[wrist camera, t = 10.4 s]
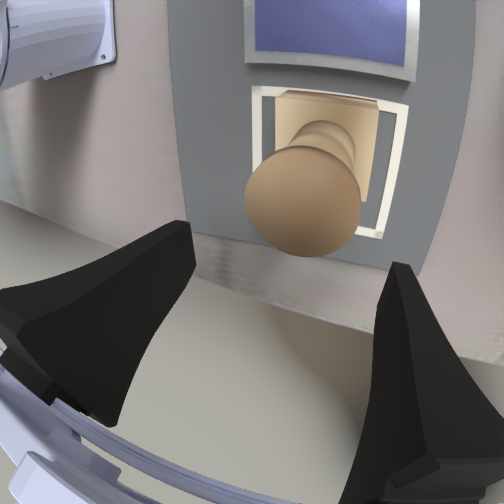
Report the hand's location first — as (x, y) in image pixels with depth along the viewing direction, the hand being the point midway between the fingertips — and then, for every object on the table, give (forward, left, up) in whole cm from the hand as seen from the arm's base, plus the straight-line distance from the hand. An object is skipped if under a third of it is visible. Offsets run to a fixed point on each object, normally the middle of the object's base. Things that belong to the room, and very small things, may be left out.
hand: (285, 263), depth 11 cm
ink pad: (0, +10, -10) cm, 14 cm away
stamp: (0, +2, -10) cm, 10 cm away
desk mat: (-1, +8, -10) cm, 13 cm away
